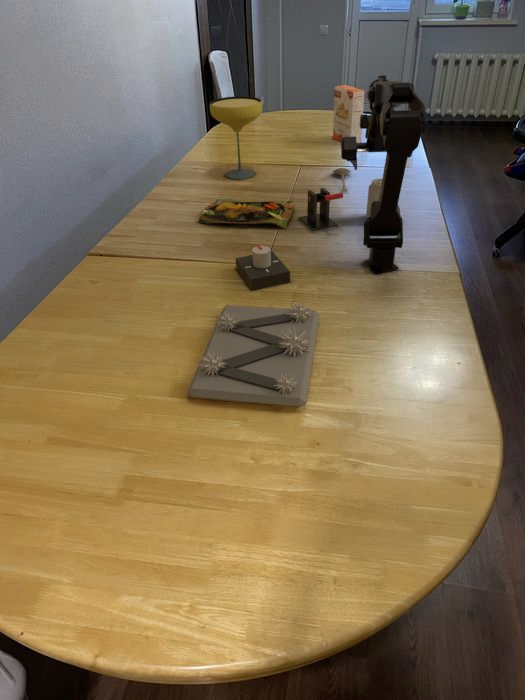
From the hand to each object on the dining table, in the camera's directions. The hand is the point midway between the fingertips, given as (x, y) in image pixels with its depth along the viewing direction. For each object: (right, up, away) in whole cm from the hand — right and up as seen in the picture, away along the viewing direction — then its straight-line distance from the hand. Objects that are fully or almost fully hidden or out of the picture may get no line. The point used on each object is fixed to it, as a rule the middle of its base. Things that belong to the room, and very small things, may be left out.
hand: (372, 168), depth 147 cm
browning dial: (-31, -31, -19) cm, 48 cm away
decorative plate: (-32, -53, -44) cm, 76 cm away
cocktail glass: (-40, +13, +45) cm, 62 cm away
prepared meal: (-36, -11, +13) cm, 39 cm away
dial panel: (-31, -33, -17) cm, 49 cm away
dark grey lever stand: (-15, -14, +7) cm, 21 cm away
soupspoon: (-3, +7, +35) cm, 35 cm away
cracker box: (+5, +38, +75) cm, 84 cm away
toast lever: (-13, -10, -2) cm, 17 cm away
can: (+3, -14, +7) cm, 16 cm away
